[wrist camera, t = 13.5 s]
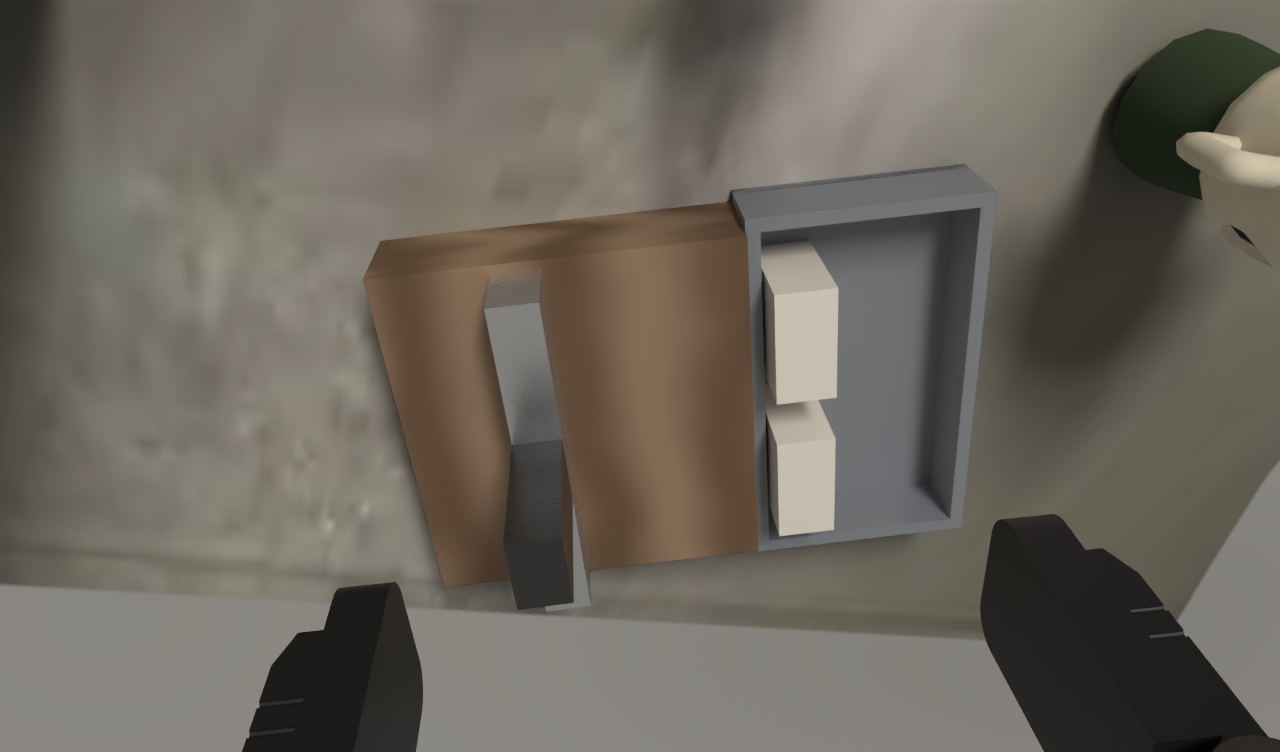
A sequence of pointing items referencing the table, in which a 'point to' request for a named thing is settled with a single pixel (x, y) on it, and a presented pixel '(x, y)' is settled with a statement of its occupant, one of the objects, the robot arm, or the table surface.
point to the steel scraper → (536, 451)
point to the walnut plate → (582, 381)
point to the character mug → (1211, 134)
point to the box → (885, 339)
